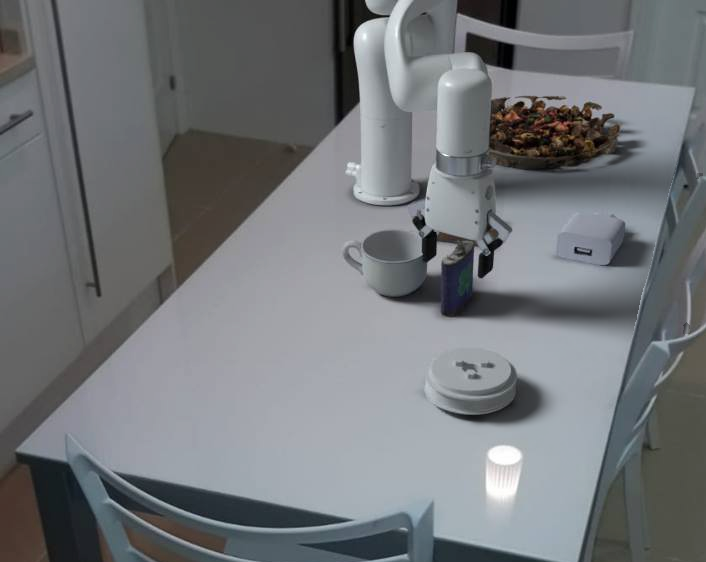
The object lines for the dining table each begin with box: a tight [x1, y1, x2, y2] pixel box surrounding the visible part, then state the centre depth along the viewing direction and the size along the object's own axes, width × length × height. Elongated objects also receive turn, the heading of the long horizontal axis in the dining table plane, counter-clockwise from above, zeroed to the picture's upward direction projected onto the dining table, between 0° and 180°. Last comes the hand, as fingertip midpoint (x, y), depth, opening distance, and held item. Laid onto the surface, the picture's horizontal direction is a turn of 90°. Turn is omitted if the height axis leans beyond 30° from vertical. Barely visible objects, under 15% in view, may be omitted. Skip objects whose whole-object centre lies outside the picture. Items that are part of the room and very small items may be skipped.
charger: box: [555, 211, 626, 266], centre depth 187 cm, size 5×9×15 cm
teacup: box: [341, 228, 428, 298], centre depth 175 cm, size 14×11×8 cm
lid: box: [423, 347, 518, 416], centre depth 151 cm, size 13×13×5 cm
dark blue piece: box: [440, 240, 475, 317], centre depth 169 cm, size 9×3×11 cm, turn 152°
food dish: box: [488, 95, 621, 170], centre depth 225 cm, size 35×33×8 cm
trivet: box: [437, 229, 499, 247], centre depth 193 cm, size 10×10×1 cm
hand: (456, 266), depth 168 cm, fingers open, 9 cm apart
